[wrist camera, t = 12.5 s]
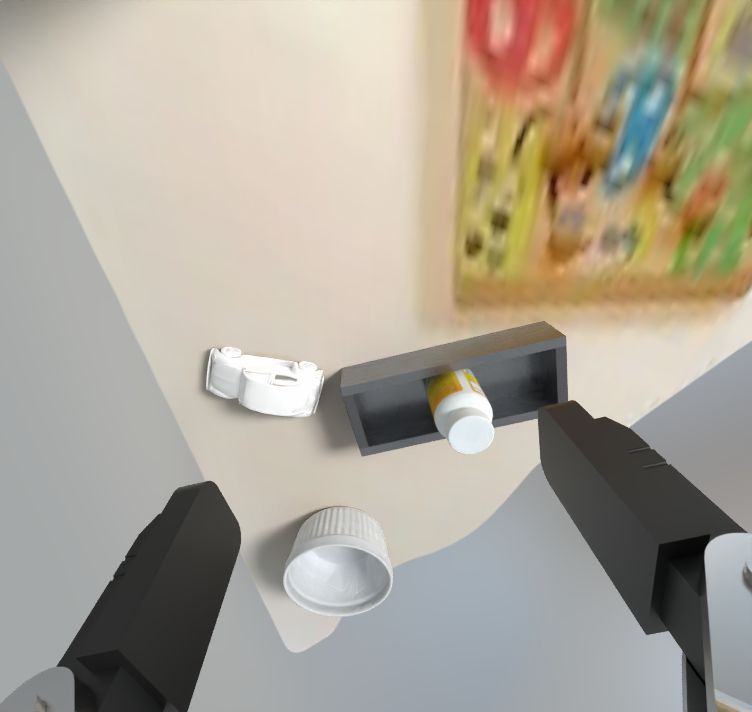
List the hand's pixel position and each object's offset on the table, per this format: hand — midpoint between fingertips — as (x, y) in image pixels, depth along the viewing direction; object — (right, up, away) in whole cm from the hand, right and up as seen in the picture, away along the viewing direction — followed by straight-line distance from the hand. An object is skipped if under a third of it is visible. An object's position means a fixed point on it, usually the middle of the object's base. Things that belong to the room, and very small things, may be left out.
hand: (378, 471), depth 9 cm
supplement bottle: (+8, 0, +31) cm, 32 cm away
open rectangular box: (+8, 0, +32) cm, 33 cm away
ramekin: (-5, -22, +41) cm, 47 cm away
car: (-12, +1, +32) cm, 34 cm away
